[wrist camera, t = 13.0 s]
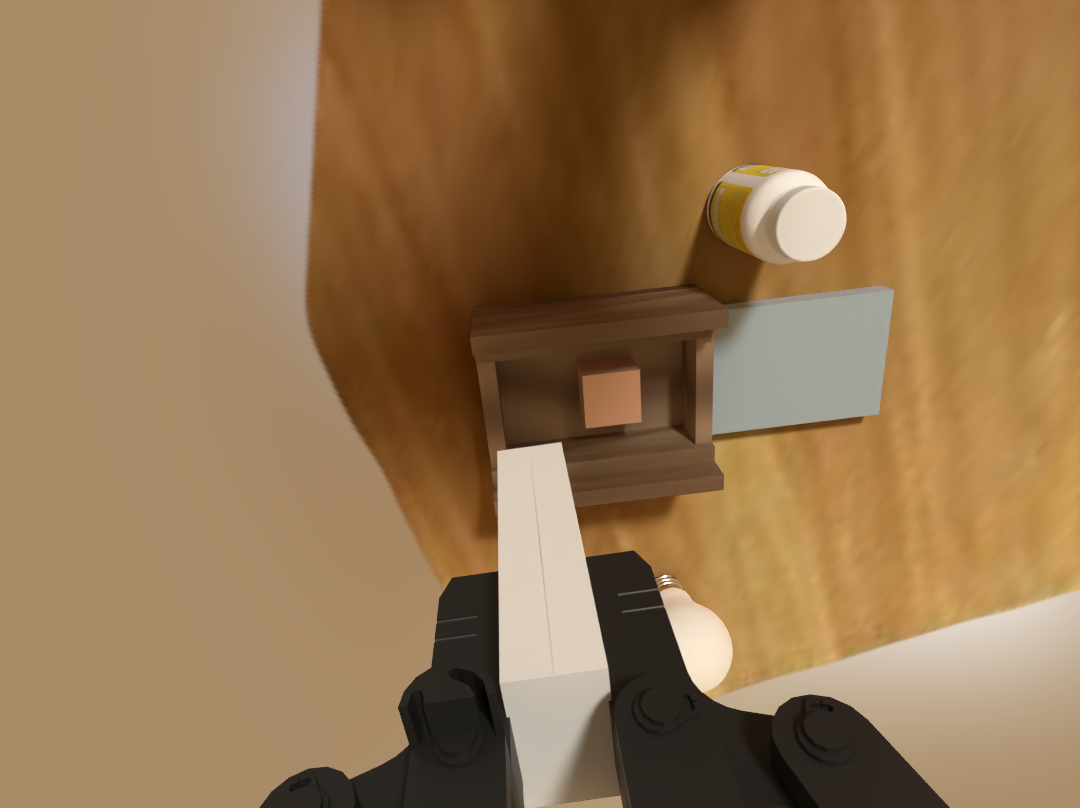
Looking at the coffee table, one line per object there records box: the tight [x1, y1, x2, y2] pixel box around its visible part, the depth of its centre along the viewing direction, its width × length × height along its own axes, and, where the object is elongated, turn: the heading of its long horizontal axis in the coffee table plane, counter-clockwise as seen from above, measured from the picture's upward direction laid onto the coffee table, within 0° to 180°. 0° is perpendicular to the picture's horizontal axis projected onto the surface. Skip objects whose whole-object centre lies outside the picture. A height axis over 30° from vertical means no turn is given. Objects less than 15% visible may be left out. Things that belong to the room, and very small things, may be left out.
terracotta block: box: [577, 355, 642, 428], centre depth 45 cm, size 4×4×3 cm
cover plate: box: [712, 286, 894, 435], centre depth 47 cm, size 10×14×2 cm
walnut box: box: [470, 284, 729, 517], centre depth 44 cm, size 13×16×7 cm
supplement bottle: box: [707, 165, 846, 264], centre depth 39 cm, size 5×5×10 cm
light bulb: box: [655, 574, 732, 693], centre depth 50 cm, size 7×7×11 cm
